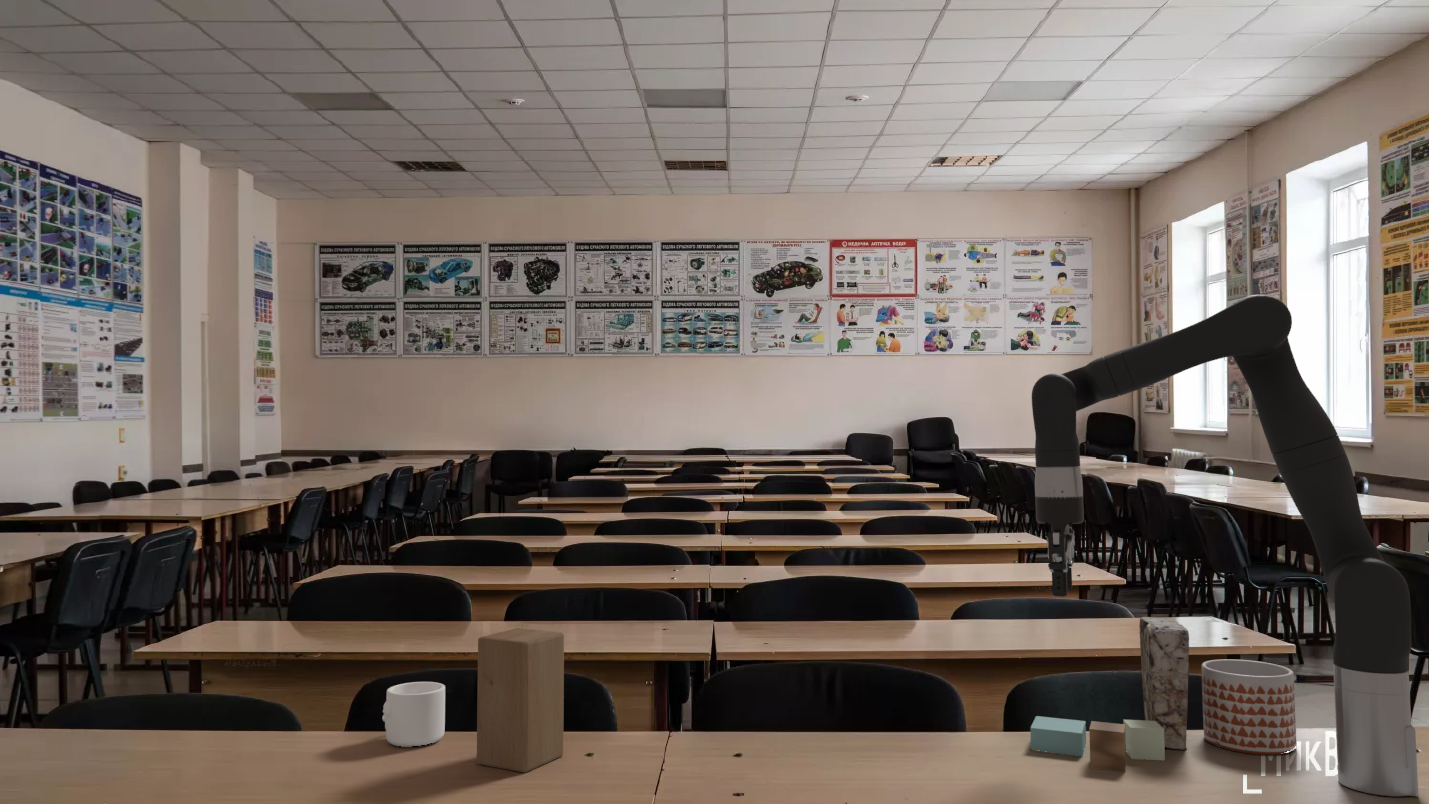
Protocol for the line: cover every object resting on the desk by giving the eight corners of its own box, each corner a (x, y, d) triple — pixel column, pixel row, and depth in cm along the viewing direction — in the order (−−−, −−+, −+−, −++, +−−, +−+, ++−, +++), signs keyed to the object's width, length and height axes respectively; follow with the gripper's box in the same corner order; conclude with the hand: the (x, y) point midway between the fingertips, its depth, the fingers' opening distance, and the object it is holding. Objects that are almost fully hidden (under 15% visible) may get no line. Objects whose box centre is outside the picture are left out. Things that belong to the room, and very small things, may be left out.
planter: (1189, 732, 170) (1187, 658, 171) (1269, 732, 169) (1266, 659, 170) (1227, 755, 156) (1225, 676, 157) (1314, 756, 156) (1311, 676, 156)
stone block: (1199, 751, 158) (1194, 628, 160) (1153, 749, 160) (1150, 627, 161) (1174, 729, 171) (1170, 615, 173) (1132, 727, 173) (1129, 614, 174)
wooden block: (475, 764, 153) (476, 637, 154) (516, 748, 162) (517, 627, 163) (525, 774, 148) (526, 642, 150) (564, 756, 157) (565, 632, 159)
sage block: (1156, 751, 159) (1155, 720, 159) (1165, 760, 154) (1164, 729, 154) (1124, 750, 160) (1123, 719, 160) (1131, 759, 155) (1130, 727, 155)
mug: (383, 733, 171) (383, 681, 172) (443, 728, 174) (444, 677, 175) (380, 752, 160) (381, 696, 160) (445, 746, 163) (446, 692, 163)
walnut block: (1126, 762, 153) (1125, 724, 153) (1125, 772, 148) (1124, 732, 149) (1092, 759, 155) (1091, 721, 155) (1090, 768, 150) (1089, 728, 151)
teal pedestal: (1086, 745, 163) (1085, 721, 164) (1082, 758, 156) (1082, 733, 156) (1036, 739, 167) (1036, 715, 167) (1031, 752, 159) (1030, 727, 160)
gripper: (1079, 495, 153) (1083, 599, 151) (1086, 492, 165) (1090, 588, 164) (1029, 495, 156) (1033, 597, 155) (1040, 493, 169) (1044, 586, 167)
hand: (1062, 592), depth 159 cm, fingers open, 8 cm apart
